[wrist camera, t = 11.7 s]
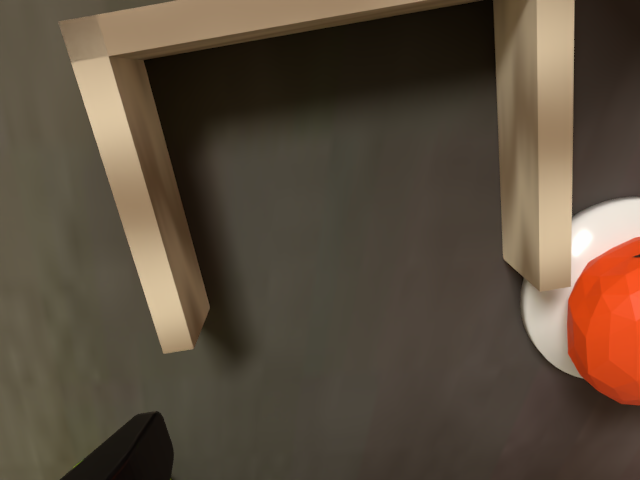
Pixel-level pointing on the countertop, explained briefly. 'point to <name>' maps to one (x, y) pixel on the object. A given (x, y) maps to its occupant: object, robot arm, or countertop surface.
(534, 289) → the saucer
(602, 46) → the countertop surface
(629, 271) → the pumpkin
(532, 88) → the wooden frame
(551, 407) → the countertop surface
